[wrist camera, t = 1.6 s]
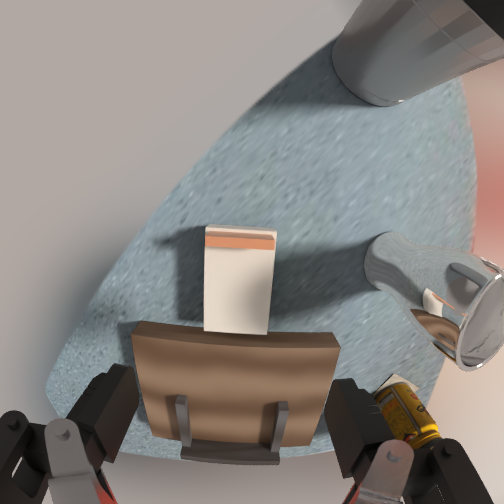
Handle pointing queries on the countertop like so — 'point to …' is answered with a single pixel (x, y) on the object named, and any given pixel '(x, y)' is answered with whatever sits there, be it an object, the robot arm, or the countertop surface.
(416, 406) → the condiment
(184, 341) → the dock
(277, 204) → the countertop surface
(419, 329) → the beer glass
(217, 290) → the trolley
